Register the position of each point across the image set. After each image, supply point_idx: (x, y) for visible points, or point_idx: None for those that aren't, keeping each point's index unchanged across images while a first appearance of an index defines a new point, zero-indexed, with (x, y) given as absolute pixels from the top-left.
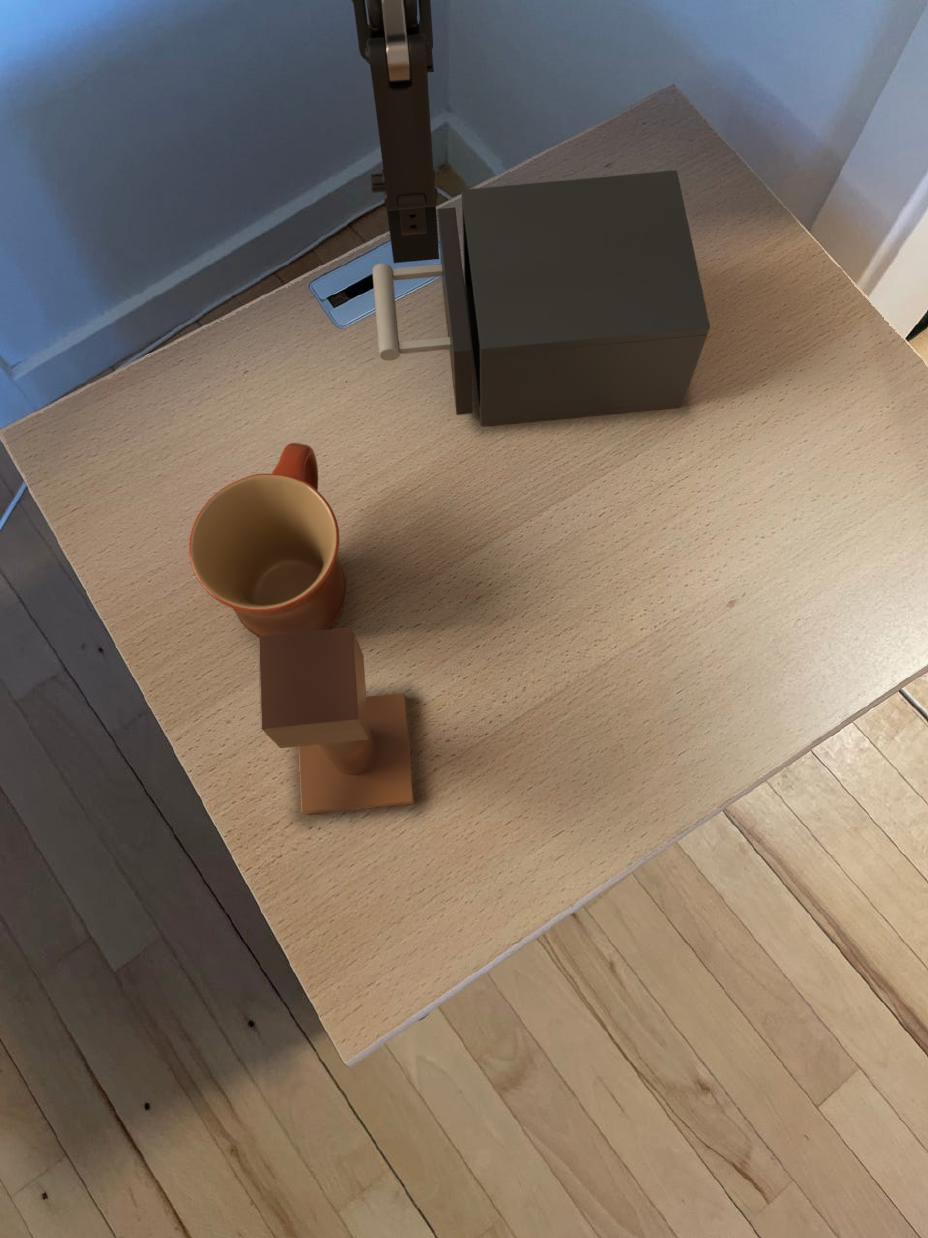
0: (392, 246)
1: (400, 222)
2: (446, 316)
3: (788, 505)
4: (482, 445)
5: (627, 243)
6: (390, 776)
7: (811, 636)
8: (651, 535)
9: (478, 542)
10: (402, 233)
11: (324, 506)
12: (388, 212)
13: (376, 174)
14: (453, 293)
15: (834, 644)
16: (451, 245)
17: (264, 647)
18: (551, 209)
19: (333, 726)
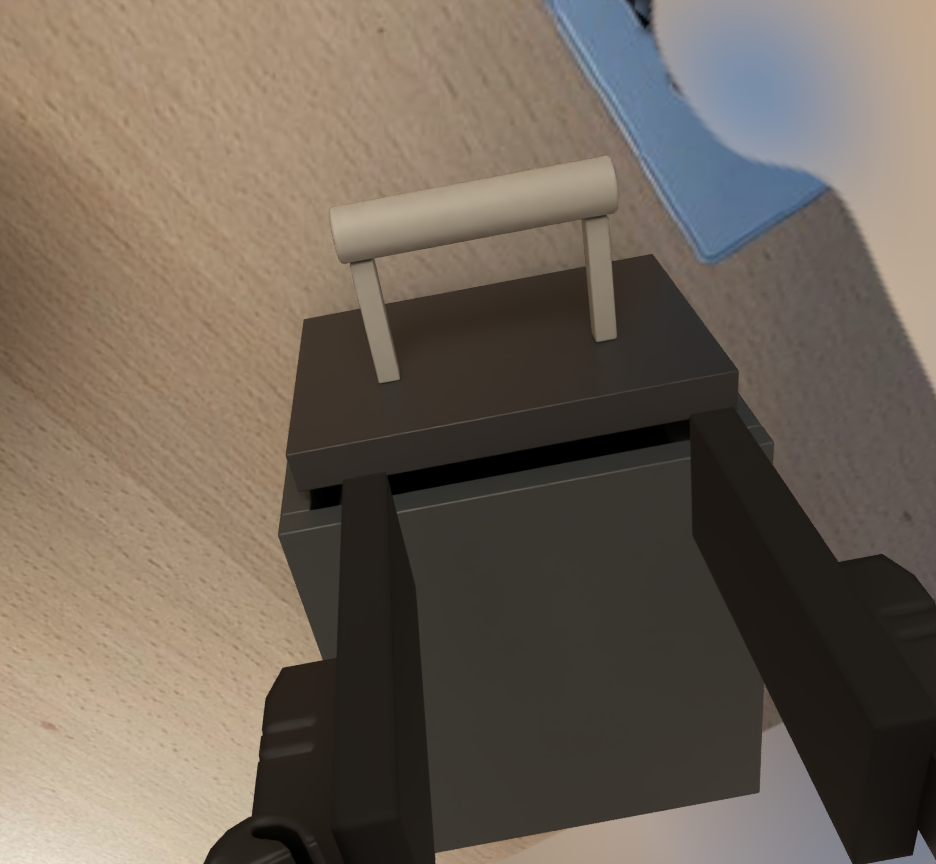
0: (342, 535)
1: (260, 743)
2: (530, 300)
3: (237, 771)
4: (256, 361)
5: (585, 746)
6: None
7: (32, 803)
8: (135, 630)
9: (27, 375)
10: (272, 689)
11: None
12: (336, 669)
13: (318, 858)
14: (463, 435)
15: (30, 823)
16: (614, 416)
17: None
18: (687, 621)
19: None
